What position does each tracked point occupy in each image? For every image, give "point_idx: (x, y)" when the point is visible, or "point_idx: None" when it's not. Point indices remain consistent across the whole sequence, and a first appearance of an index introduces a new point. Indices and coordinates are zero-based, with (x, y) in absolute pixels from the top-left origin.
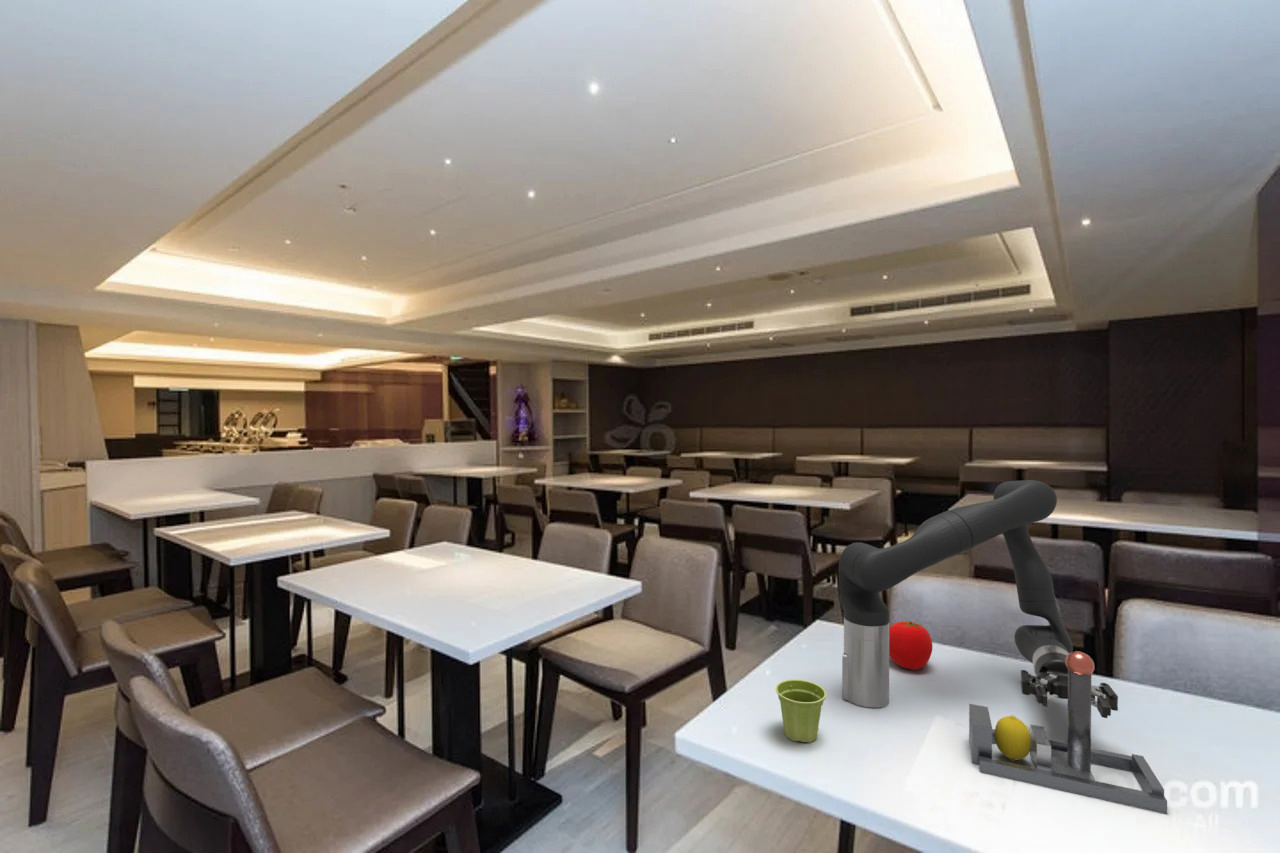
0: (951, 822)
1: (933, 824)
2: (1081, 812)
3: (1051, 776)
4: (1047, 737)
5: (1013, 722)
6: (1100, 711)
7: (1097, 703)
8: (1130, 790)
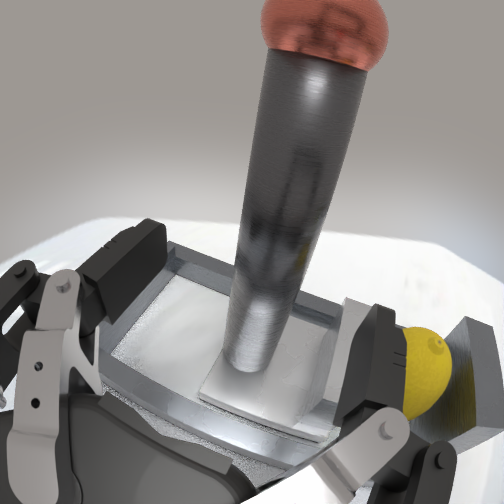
0: (447, 262)
1: (458, 261)
2: (308, 269)
3: (337, 305)
4: (338, 336)
5: (432, 332)
6: (147, 273)
7: (108, 303)
8: (209, 263)
